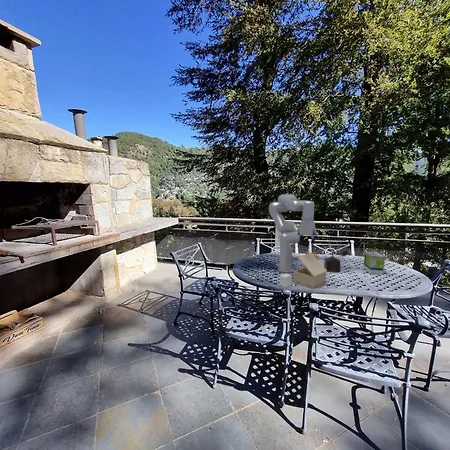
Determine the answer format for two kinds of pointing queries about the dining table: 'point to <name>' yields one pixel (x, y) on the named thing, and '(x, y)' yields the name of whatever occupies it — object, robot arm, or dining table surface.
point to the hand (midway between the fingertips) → (306, 243)
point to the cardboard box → (308, 278)
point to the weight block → (285, 280)
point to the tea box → (374, 262)
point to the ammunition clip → (312, 253)
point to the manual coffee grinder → (333, 262)
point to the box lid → (312, 264)
